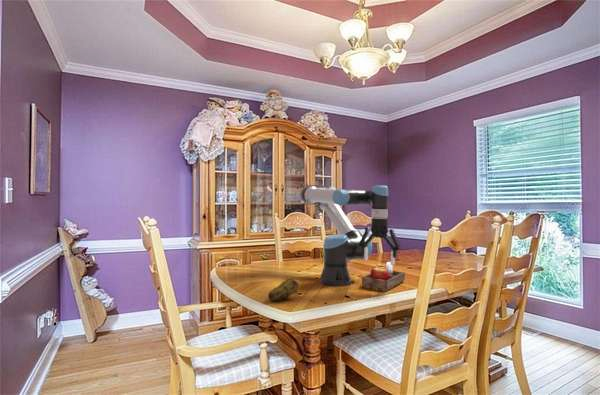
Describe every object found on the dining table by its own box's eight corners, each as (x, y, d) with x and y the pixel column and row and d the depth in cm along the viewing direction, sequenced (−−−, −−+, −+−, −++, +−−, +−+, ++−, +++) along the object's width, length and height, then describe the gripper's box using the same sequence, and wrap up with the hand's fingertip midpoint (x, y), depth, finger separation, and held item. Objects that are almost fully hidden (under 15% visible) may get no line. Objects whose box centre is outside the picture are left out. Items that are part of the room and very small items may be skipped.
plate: (384, 281, 160) (384, 263, 160) (391, 278, 167) (391, 260, 167) (385, 281, 159) (385, 263, 159) (392, 278, 166) (392, 260, 167)
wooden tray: (362, 287, 153) (362, 277, 153) (381, 278, 172) (381, 269, 172) (387, 291, 146) (387, 281, 146) (404, 281, 164) (404, 272, 164)
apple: (369, 281, 159) (369, 261, 159) (387, 282, 158) (387, 261, 158) (371, 286, 151) (371, 264, 151) (389, 286, 150) (390, 265, 150)
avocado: (266, 297, 136) (266, 278, 136) (296, 295, 139) (296, 277, 139) (269, 303, 128) (269, 283, 128) (301, 301, 131) (301, 281, 131)
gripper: (352, 217, 159) (351, 260, 159) (402, 219, 144) (401, 267, 144) (359, 216, 165) (358, 258, 165) (408, 219, 150) (407, 264, 150)
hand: (378, 262), depth 155 cm, fingers open, 13 cm apart
